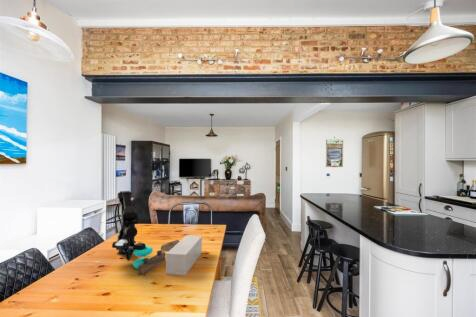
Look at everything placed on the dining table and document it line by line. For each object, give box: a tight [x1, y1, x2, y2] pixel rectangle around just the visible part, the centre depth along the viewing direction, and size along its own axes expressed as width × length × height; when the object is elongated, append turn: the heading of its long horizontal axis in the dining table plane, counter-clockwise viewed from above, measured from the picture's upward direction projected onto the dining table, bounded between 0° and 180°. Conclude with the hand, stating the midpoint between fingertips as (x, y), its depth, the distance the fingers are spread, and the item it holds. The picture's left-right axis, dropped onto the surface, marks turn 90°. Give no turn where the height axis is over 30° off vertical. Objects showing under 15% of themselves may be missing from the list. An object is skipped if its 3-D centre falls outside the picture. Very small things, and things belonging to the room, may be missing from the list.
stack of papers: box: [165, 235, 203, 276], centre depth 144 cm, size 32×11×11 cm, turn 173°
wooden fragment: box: [160, 239, 181, 253], centre depth 172 cm, size 26×11×1 cm, turn 166°
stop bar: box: [137, 249, 166, 276], centre depth 136 cm, size 3×20×7 cm, turn 163°
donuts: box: [132, 245, 153, 270], centre depth 138 cm, size 10×10×10 cm
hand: (128, 260), depth 140 cm, fingers closed
